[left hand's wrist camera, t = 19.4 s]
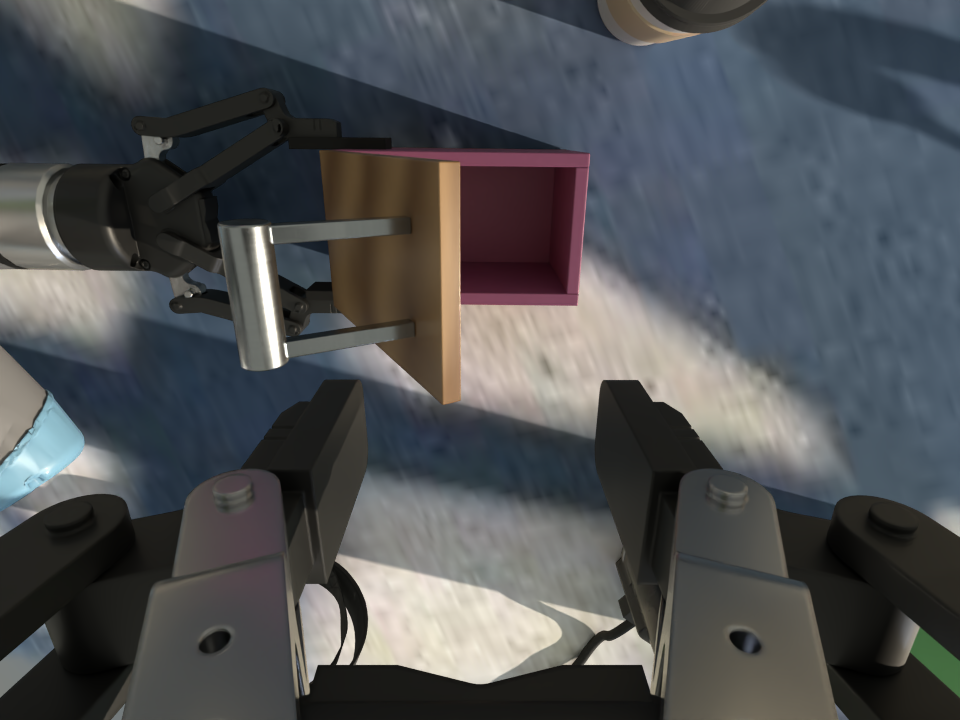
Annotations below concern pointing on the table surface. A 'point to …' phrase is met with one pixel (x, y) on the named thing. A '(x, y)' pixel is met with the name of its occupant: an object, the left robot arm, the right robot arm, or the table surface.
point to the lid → (363, 268)
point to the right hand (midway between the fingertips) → (392, 221)
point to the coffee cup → (671, 18)
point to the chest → (517, 222)
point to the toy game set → (937, 660)
